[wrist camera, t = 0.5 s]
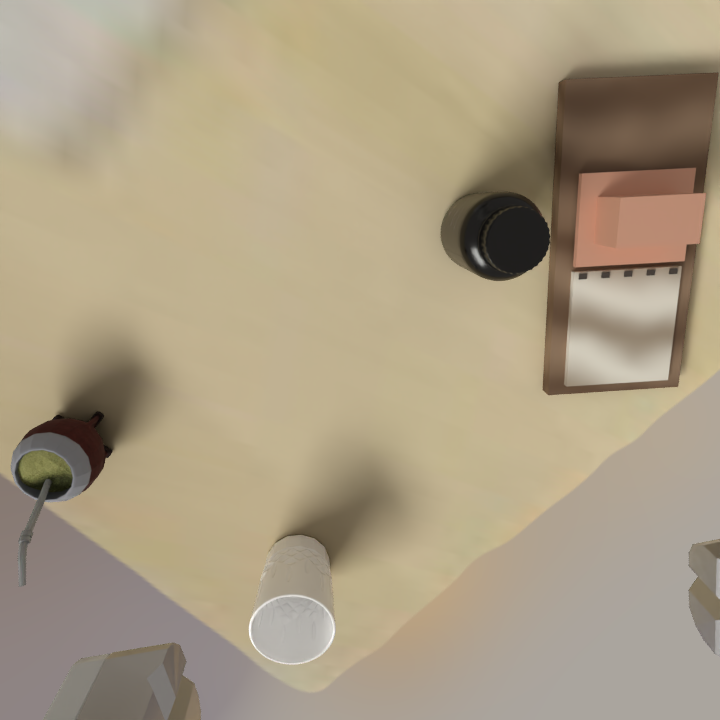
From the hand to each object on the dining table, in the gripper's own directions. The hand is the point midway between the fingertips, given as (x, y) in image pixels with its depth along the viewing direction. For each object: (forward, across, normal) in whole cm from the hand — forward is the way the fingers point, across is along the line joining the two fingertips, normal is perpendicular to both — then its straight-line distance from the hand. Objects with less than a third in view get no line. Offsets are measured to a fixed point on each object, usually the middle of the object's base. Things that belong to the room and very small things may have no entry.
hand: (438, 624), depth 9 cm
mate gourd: (+44, +29, +12) cm, 54 cm away
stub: (+43, -25, +1) cm, 50 cm away
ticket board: (+44, -25, +3) cm, 51 cm away
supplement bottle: (+44, -12, -1) cm, 46 cm away
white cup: (+44, +11, +31) cm, 55 cm away
